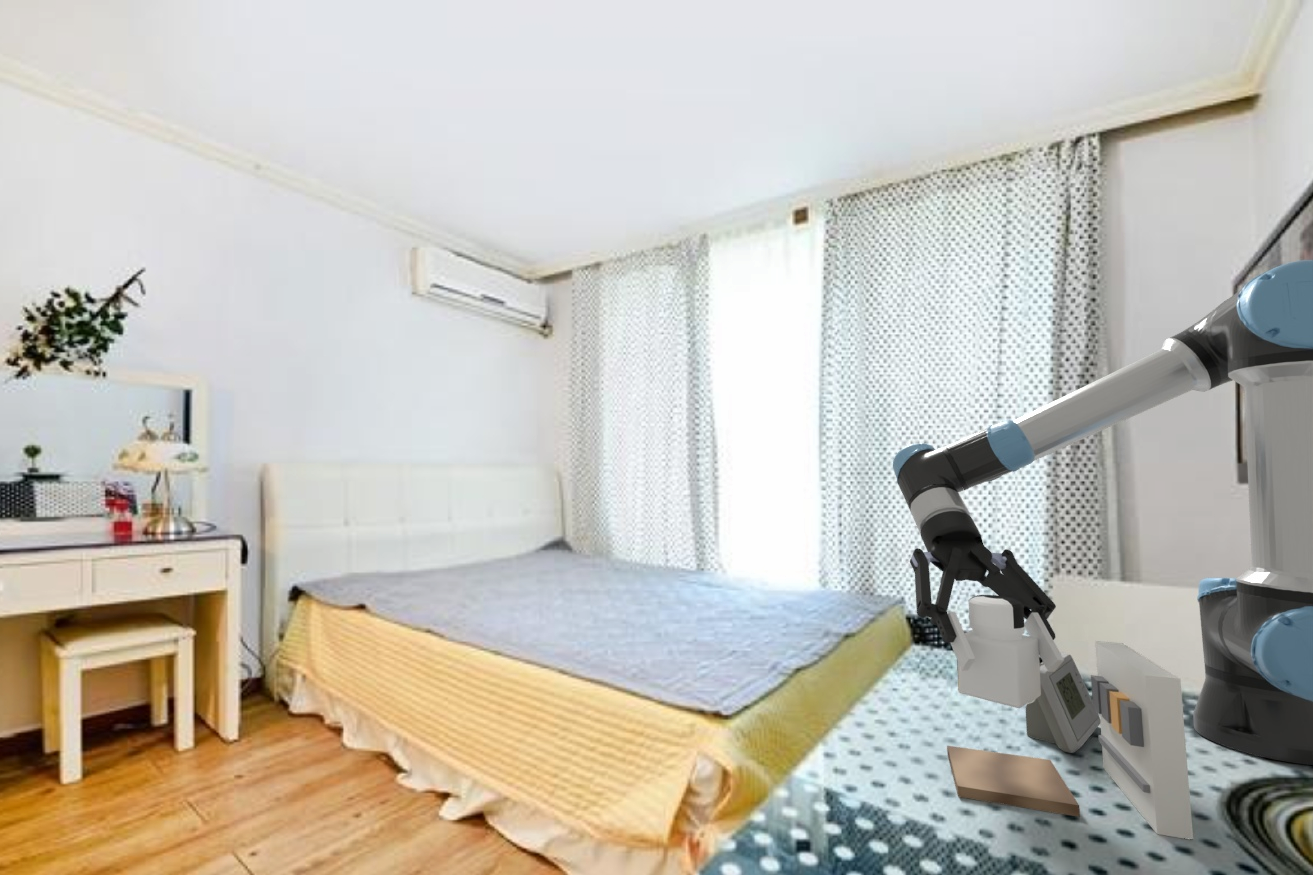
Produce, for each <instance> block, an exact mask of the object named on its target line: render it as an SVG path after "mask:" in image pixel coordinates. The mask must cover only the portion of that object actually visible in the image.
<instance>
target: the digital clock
mask: <svg viewBox="0 0 1313 875" xmlns="http://www.w3.org/2000/svg"><path fill="white" fill-rule="evenodd" d="M1059 652H1060V653H1061V655H1062V657H1063V659H1064V661H1063V662H1062V663H1061V664H1060V666H1059V667H1058V668H1057V669H1056V670H1055V672H1048V670H1047V668H1046V666H1045V665H1044V663H1043V661H1042V662H1039V665H1040V685H1041V695H1040V696H1039V697H1038V698H1036V699H1034V700H1033V701H1031V702H1029V703H1028V704H1026V705H1025V724H1026V735H1027V736H1028V737H1029V738H1033V739H1038V740H1040V741H1044V742H1048V743H1052V744H1056V745H1057V747H1058V748H1059V749H1060V750H1061V751H1063V752H1065V753H1068V754H1074V753H1076V752H1077V751H1078V750H1080V748H1082V747H1083V745H1084V744H1085V743H1086V742H1087V741H1088V740H1089V738H1090V737H1091V735H1093V734H1094V732H1095V731H1096V729H1098V726H1100V725H1101V722H1100V714H1099V713H1098V712H1097V711H1096V710H1095V709H1094V708H1093V701H1092V696H1091V694H1090V693H1089V690H1088V689H1087V686H1086V684H1085V682H1084V680H1083V677H1082V676H1081V674H1080V671H1079V669H1078V667H1077V665H1076V663H1075V661H1074V658H1073V657H1072V655H1071V654H1069V653H1067V652H1064V651H1059Z"/></svg>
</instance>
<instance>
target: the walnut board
mask: <svg viewBox="0 0 1313 875" xmlns="http://www.w3.org/2000/svg"><path fill="white" fill-rule="evenodd" d="M946 751H947V757H948V762H949V766H950V769H951V775H952V778H953V781H954V782H953V783H954V786H955V789H956V795H957V797H959V798H964V799H970V800H975V801H981V802H988V803H995V804H1000V805H1005V806H1012V807H1019V808H1025V809H1029V810H1030V809H1031V810H1038V811H1042V812H1050V813H1055V814H1061V815H1066V816H1073V817H1079V818H1080V817H1081V813H1080V809H1081V808H1080V804H1079V802H1078V801H1077V800H1076V798H1075V796H1074V795H1073V793H1072V791H1071V790H1070V788H1069V787H1068V786H1067V784H1066V782H1065V780H1064V779H1063V778H1062V776H1061V774H1060V773H1059V771H1058V769H1057V768H1056V766H1055V765H1054V764H1053V761H1052V760H1051V759H1048V758H1040V757H1039V758H1038V757H1031V756H1025V755H1019V754H1018V755H1016V754H1009V753H1004V752H996V751H990V750H981V749H975V748H967V747H961V746H954V745H953V746H952V745H946Z"/></svg>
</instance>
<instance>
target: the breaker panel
mask: <svg viewBox="0 0 1313 875" xmlns="http://www.w3.org/2000/svg"><path fill="white" fill-rule="evenodd" d="M1094 642H1095V643H1094V647H1095V659H1096V661H1095V662H1096V673H1097V674H1096V675H1092V674H1091V675H1090V684H1091V699H1092V701H1093V708H1094V709H1095V710H1096V711H1097V712H1098V714H1099V717H1100V731H1101V732H1100V734H1098V736H1097V737H1098V742H1099V743H1100V744H1101V748H1102V749H1101V750H1102V764H1103V769H1104V771H1105V772H1106V773H1107V774H1108V775H1109V777H1110V778H1111V779H1112V781H1114V782H1113V783H1115V785H1117V787H1118V788H1119V789H1120V790H1121V792H1122V793H1123V794H1124V796H1125V797H1126V798H1127V799H1128V800H1129V802H1130V803H1131V804H1132V805H1133V807H1135V809H1136V810H1137V811H1138V812H1139V813H1140V815H1141V816H1142V817H1143V819H1144V820H1145V821H1146V822H1147V823H1148V825H1149V826H1150V827H1151V828H1152V830H1153V831H1154V832H1155V834H1156V835H1160V836H1167V837H1172V838H1179V839H1184V838H1185V840H1190V839H1193V840H1194V834H1193V832H1194V831H1193V822H1192V807H1191V805H1192V804H1191V794H1190V783H1189V771H1188V770H1189V769H1188V758H1187V755H1188V754H1187V744H1186V732H1185V731H1186V730H1185V719H1184V707H1183V706H1184V705H1183V694H1182V683H1181V682H1182V680H1181V677H1178V675H1176V674H1174V673H1172V672H1171V671H1169V670H1167V669H1165V668H1164V667H1162V666H1161V665H1159V664H1157V663H1156V662H1155V661H1152V660H1151V659H1150V658H1147V657H1146V656H1145V655H1142V654H1141V653H1140V652H1138V651H1136V650H1135V649H1133V648H1131V647H1129V646H1128V645H1127V644H1125V643H1123V642H1113V641H1111V642H1110V641H1097V640H1095V641H1094ZM1187 838H1189V839H1187Z"/></svg>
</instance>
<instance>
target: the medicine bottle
mask: <svg viewBox="0 0 1313 875" xmlns="http://www.w3.org/2000/svg"><path fill="white" fill-rule="evenodd" d="M968 617H969V620H968V622H969V628H970V629H972V630H970V631H967V632H964V634H965V636H966V638H967V641H968V643H969V645H970V648H971V650H972V652H973V655H974V657H975V660H974V662H973V663H972V665H971V666H970V668H969V670H968V671H962V670H961V668H960V665H959V663H958V660H957V659H956V663H957V667H956V668H957V671H956V672H957V690H958V693H960V694H962V695H966V696H969V697H973V698H977V699H980V700H985V701H989V702H993V703H996V704H1001V705H1004V706H1007V707H1008V706H1009V707H1011V708H1015V709H1021V708H1022V707H1025V706H1027V704H1028V703H1029V702H1031V701H1033V700H1034V699H1036V698H1038V697H1039V696H1040V695H1041V685H1040V665H1039V664H1040V655H1039V644H1038V639H1037V638H1035V637H1030V636H1029V635H1024V634H1025V632H1026V631H1025V630H1026V628H1025V626H1024V623H1025V618H1024V606H1023V604H1022V603H1021V602H1019V601H1017V600H1016V599H1014V598H1010V597H1005V596H998V595H997V594H996V595H993V594H978V595H975V596H972V597H970V598H969V600H968Z"/></svg>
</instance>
